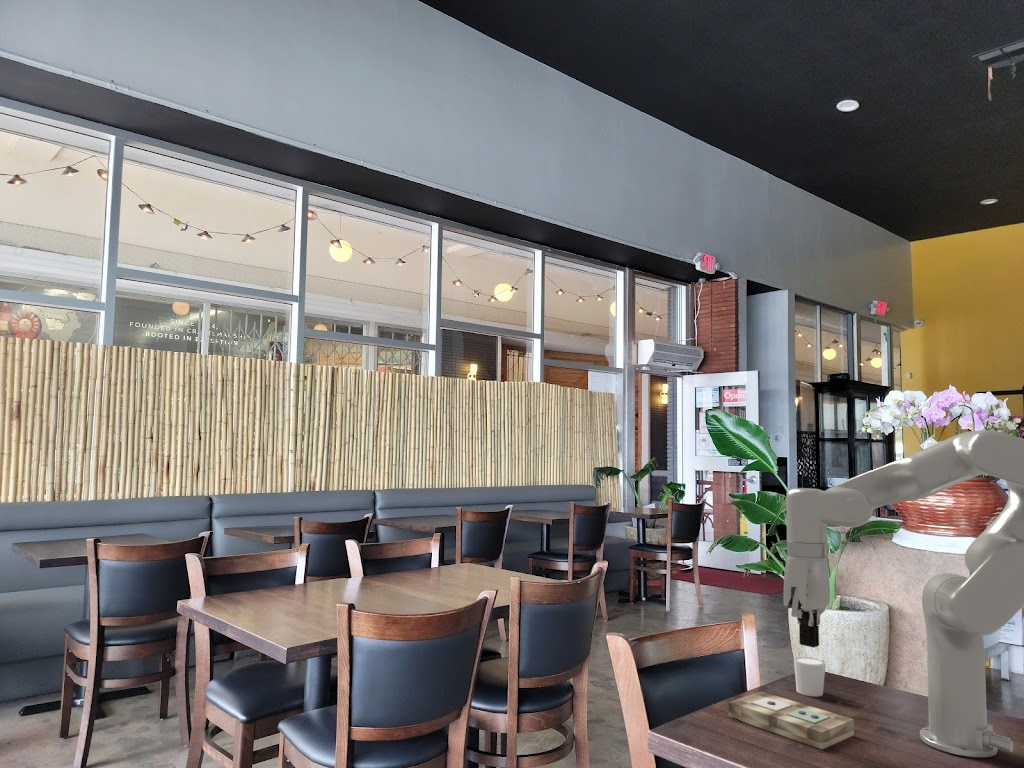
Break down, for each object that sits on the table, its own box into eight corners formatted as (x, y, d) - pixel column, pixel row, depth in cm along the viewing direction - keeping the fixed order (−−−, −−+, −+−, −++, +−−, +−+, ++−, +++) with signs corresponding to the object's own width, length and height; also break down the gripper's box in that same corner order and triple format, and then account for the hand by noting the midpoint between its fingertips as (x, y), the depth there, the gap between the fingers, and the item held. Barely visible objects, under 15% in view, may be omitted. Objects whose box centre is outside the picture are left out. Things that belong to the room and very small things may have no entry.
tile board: (853, 735, 142) (853, 719, 142) (822, 749, 135) (822, 732, 135) (761, 705, 158) (761, 691, 158) (728, 717, 150) (728, 701, 150)
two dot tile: (829, 728, 143) (829, 715, 143) (814, 734, 139) (814, 721, 139) (802, 719, 147) (802, 707, 147) (787, 725, 143) (787, 712, 144)
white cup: (828, 698, 164) (828, 666, 165) (796, 695, 165) (796, 663, 166) (822, 689, 171) (822, 658, 171) (791, 686, 172) (791, 655, 173)
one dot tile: (791, 716, 149) (791, 703, 149) (776, 721, 145) (776, 709, 146) (766, 708, 153) (766, 696, 153) (751, 713, 150) (751, 701, 150)
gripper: (809, 546, 154) (811, 636, 152) (769, 551, 145) (771, 647, 143) (844, 550, 148) (846, 643, 146) (805, 555, 139) (807, 655, 137)
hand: (809, 645), depth 144 cm, fingers closed
